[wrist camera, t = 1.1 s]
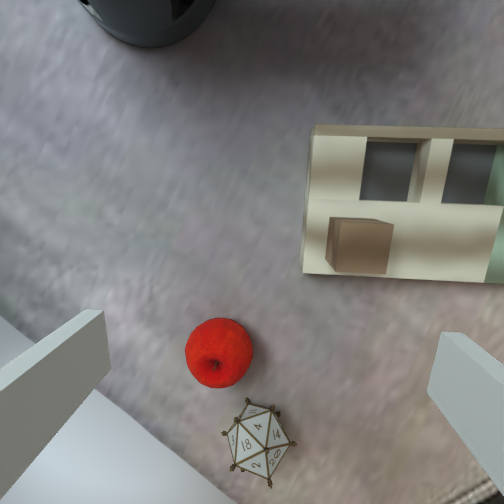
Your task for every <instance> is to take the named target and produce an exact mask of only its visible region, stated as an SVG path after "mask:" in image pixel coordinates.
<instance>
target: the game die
mask: <svg viewBox="0 0 504 504" xmlns="http://www.w3.org/2000/svg"><path fill="white" fill-rule="evenodd" d="M245 401H246V403H247V405H246V407H245V408H244V410H243V411H242V412H241V414H240V415H239V417H238V418H237V417H235V418H234V424H233V425H232V427H231V428H230V429H229V431H228V432H226V431H223V432H221V433H222V435H223V436H226V435H227V437H228V441H229V445H230V449H231V453H232V457H233V461H234V464H233V465H232V466H230V471H234V469H235V467H239V468H241V472H244V471H245V470H246V471H248V472H251V473H253V474H256V475H258V476H260V477H263V478H265V479H267V480H268V486H269V487H270V488H271V489H272V484H273V483H272V481H271V479H270V478H271V476H272V474H273V473H274V471H275V469H276V468H277V466H278V464H279V463H280V461H281V459H282V458H283V456H284V454H285V452H286V451H287V449H288V447H289V446H290V445H291V446H296V445H297V444H296V443H295V441H294V442H293V441H292V442H290V441H289V439H288V437H287V435H286V433H285V431H284V429H283V427H282V425H281V423H280V421H279V419H278V417H279V416H280V412H277V413H276V414H275V413H274V412H273V410H274V408H275V406H274V404H273V405H271V407H270V409H268V408H264V407H260V406H256V405H252V404H249V402H250V401H249V399H248V398H247V397H246V400H245Z"/></svg>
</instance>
